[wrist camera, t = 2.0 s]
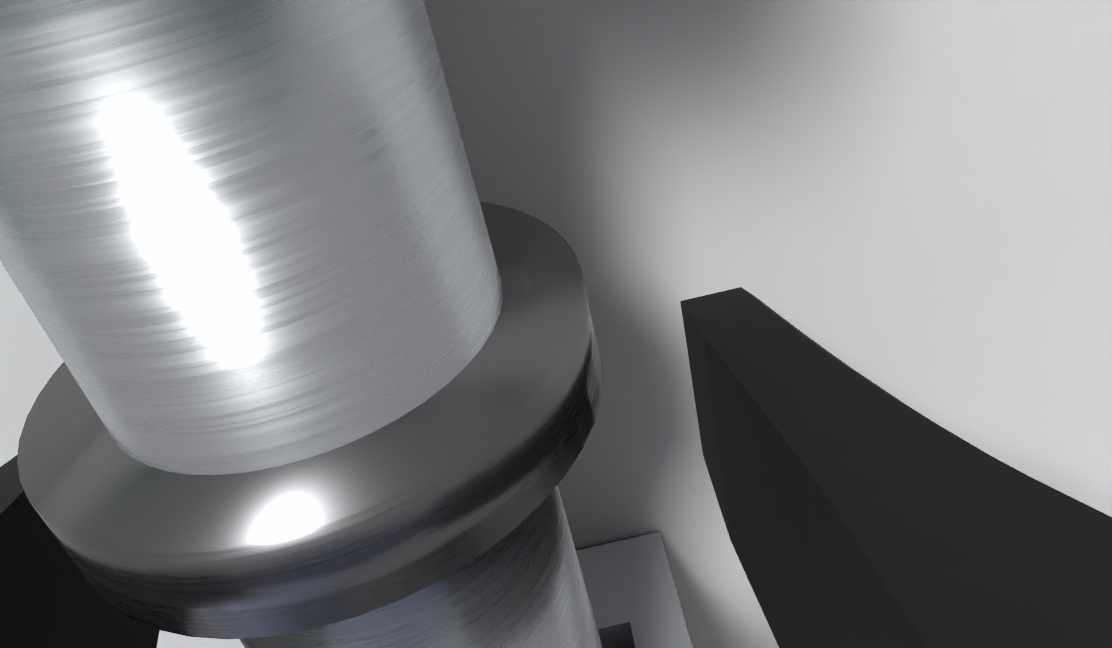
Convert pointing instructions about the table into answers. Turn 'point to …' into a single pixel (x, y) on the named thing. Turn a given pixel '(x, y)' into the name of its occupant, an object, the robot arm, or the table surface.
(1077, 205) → the table surface
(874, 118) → the table surface
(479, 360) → the silver cylinder
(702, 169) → the table surface
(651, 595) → the sleeve
